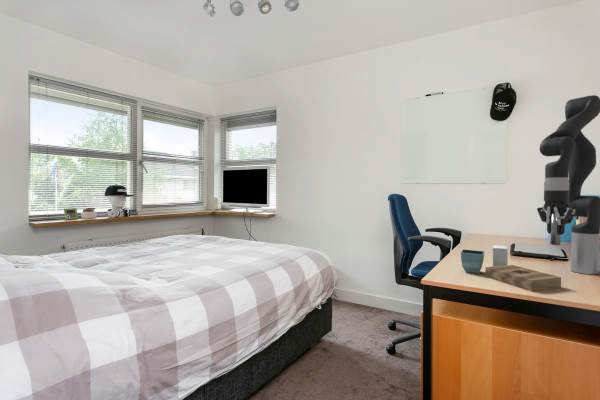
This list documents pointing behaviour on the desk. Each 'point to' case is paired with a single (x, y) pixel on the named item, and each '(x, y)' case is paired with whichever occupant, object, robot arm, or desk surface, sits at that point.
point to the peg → (554, 231)
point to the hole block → (523, 277)
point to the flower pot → (472, 260)
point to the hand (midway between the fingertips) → (555, 233)
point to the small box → (500, 255)
